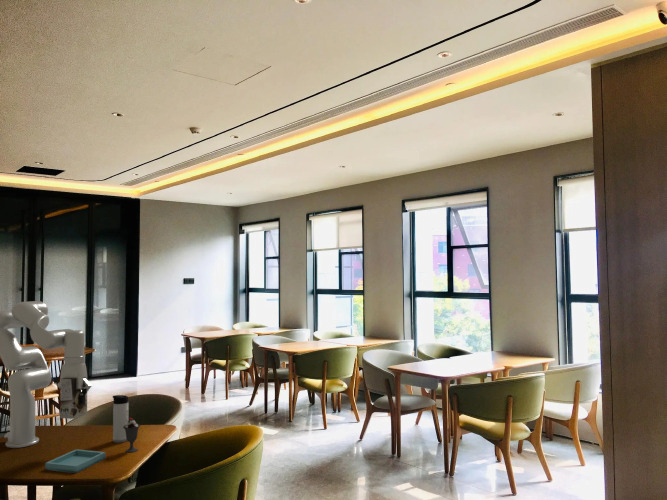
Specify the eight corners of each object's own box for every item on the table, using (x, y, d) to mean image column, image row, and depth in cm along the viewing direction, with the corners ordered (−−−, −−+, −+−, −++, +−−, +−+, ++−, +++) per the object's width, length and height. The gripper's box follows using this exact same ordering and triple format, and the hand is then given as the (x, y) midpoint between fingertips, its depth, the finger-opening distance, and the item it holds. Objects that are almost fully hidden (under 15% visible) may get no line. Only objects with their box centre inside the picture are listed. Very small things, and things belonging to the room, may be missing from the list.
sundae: (130, 447, 231) (130, 411, 231) (143, 449, 228) (143, 412, 229) (119, 452, 224) (119, 415, 225) (132, 454, 222) (132, 416, 223)
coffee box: (73, 419, 220) (74, 378, 220) (59, 418, 221) (59, 378, 222) (88, 413, 229) (88, 374, 229) (74, 412, 230) (74, 374, 230)
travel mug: (110, 440, 240) (110, 395, 240) (125, 437, 244) (125, 392, 245) (115, 444, 235) (115, 397, 236) (130, 440, 239) (130, 395, 240)
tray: (45, 469, 205) (45, 462, 205) (76, 455, 221) (76, 449, 221) (76, 473, 201) (76, 466, 202) (105, 458, 217) (105, 452, 217)
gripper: (50, 361, 224) (49, 405, 224) (85, 362, 220) (85, 407, 219) (63, 358, 231) (63, 400, 231) (98, 359, 227) (98, 403, 226)
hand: (74, 403), depth 225 cm, fingers closed on coffee box, 6 cm apart
